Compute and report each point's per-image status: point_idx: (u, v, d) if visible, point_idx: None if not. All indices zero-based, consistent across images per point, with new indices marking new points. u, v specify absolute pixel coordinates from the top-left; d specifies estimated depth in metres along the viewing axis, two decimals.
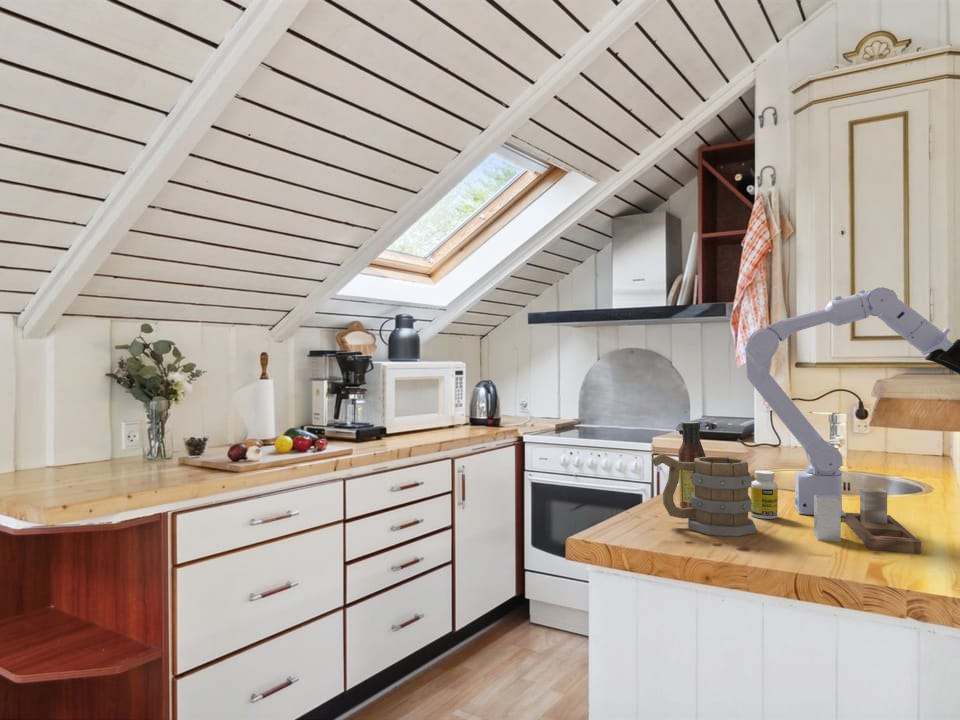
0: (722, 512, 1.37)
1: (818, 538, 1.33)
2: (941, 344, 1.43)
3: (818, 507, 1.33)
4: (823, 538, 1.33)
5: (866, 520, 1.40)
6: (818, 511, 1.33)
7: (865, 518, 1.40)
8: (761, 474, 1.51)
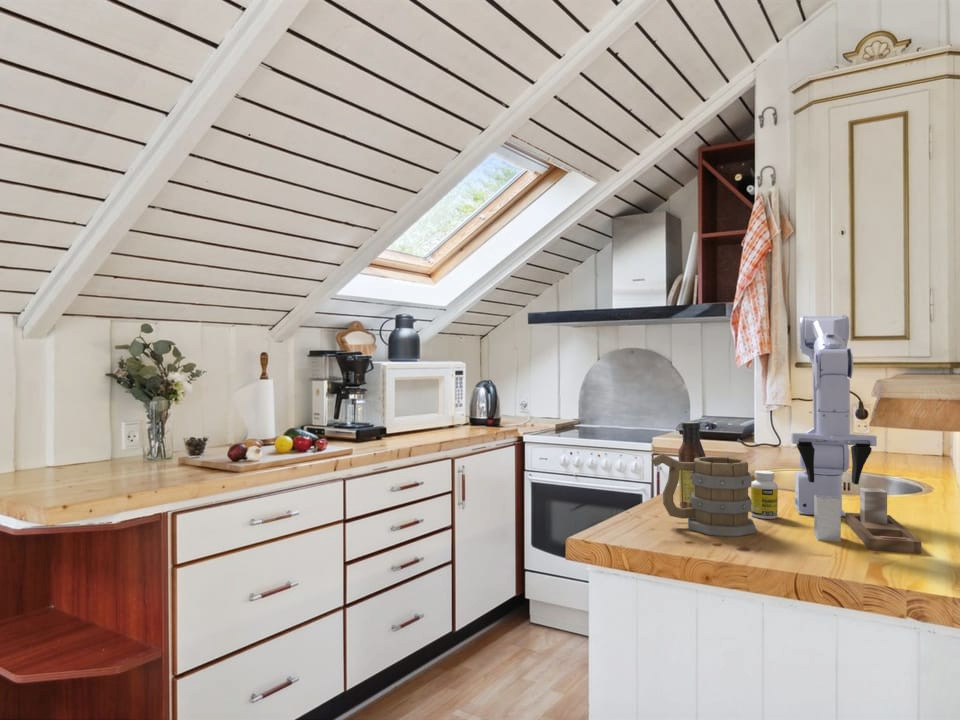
0: (722, 512, 1.37)
1: (818, 538, 1.33)
2: (791, 434, 1.36)
3: (818, 507, 1.33)
4: (823, 538, 1.33)
5: (866, 520, 1.40)
6: (818, 511, 1.33)
7: (865, 518, 1.40)
8: (761, 474, 1.51)
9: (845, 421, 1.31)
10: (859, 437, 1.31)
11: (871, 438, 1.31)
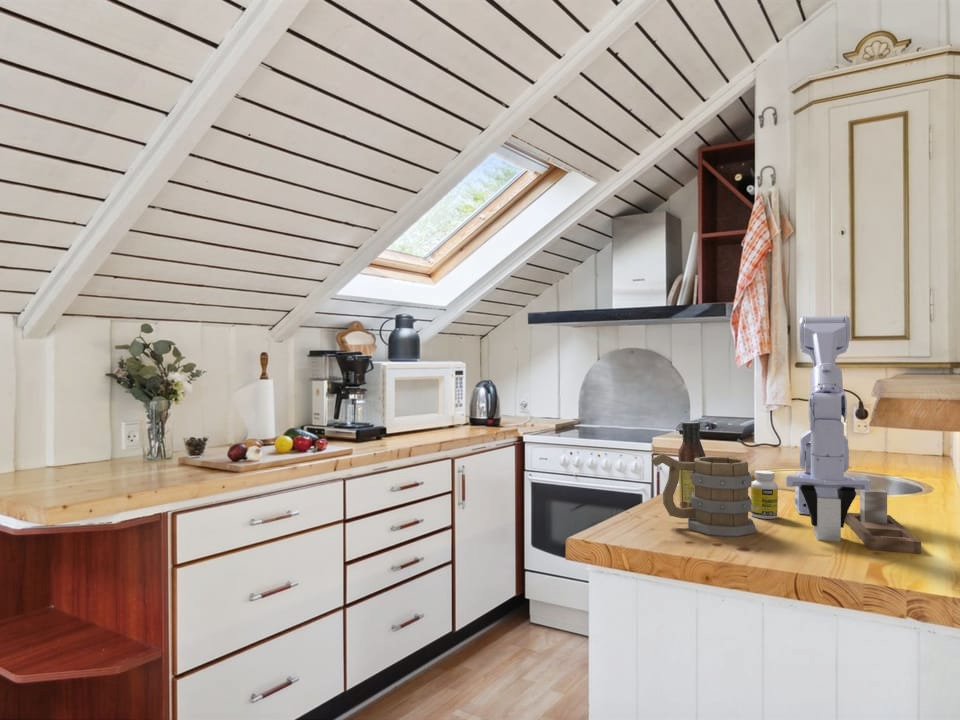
0: (722, 512, 1.37)
1: (818, 538, 1.33)
2: None
3: (818, 507, 1.33)
4: (823, 538, 1.33)
5: (866, 520, 1.40)
6: (818, 511, 1.33)
7: (865, 518, 1.40)
8: (761, 474, 1.51)
9: (839, 466, 1.32)
10: (853, 481, 1.32)
11: (865, 482, 1.32)
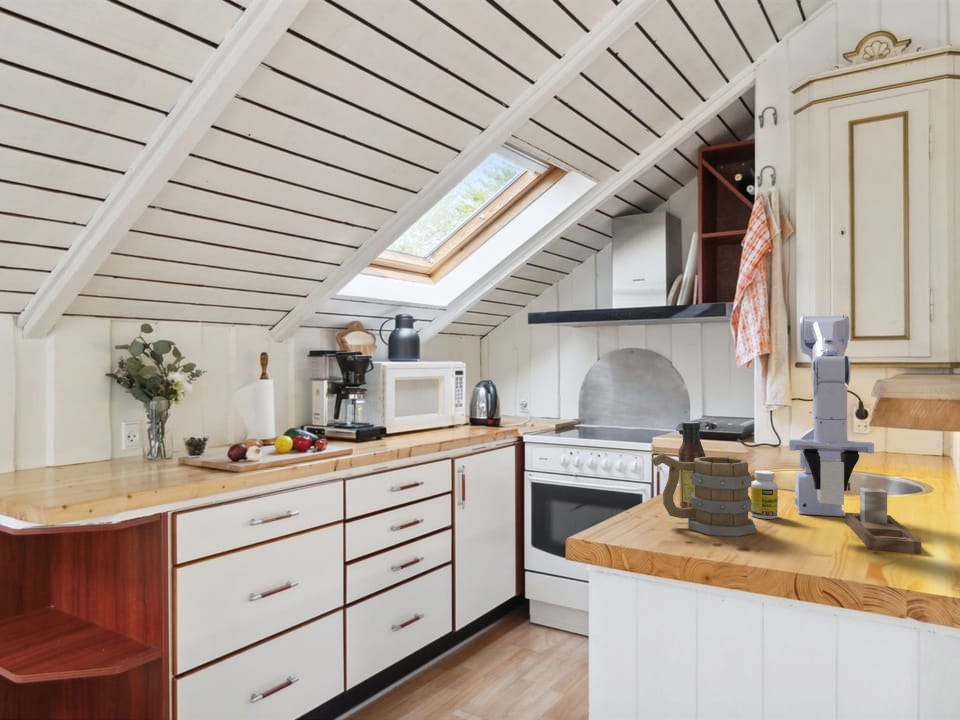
0: (722, 512, 1.37)
1: (821, 501, 1.33)
2: (789, 441, 1.37)
3: (821, 470, 1.33)
4: (826, 501, 1.33)
5: (866, 520, 1.40)
6: (821, 474, 1.33)
7: (865, 518, 1.40)
8: (761, 474, 1.51)
9: (842, 428, 1.32)
10: (856, 444, 1.31)
11: (868, 445, 1.31)
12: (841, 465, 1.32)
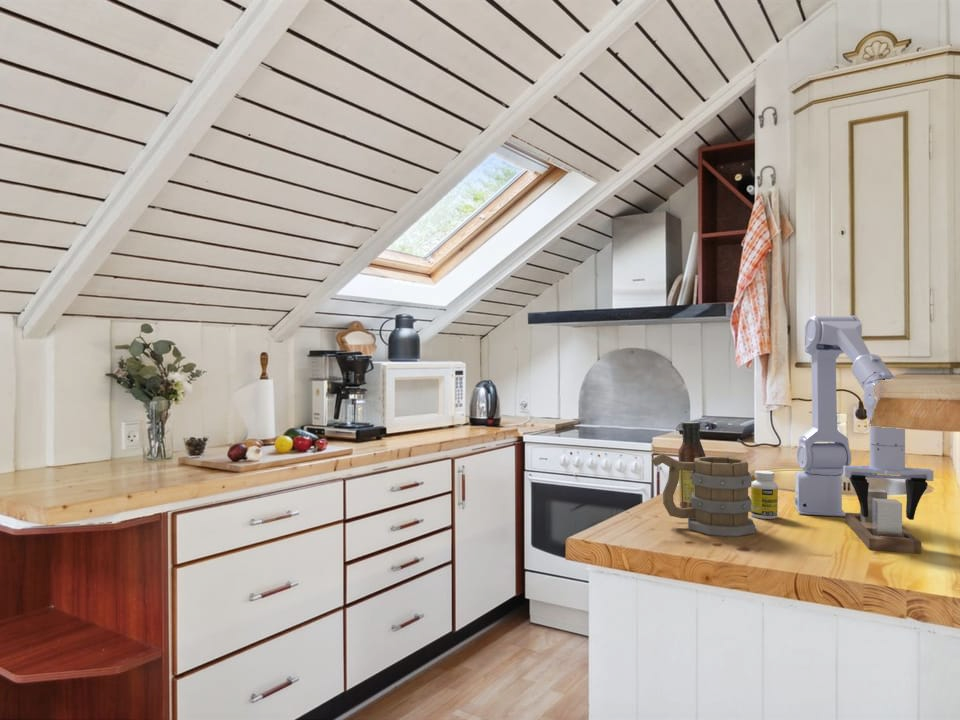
0: (722, 512, 1.37)
1: None
2: (843, 467, 1.33)
3: (878, 512, 1.29)
4: None
5: (866, 520, 1.40)
6: (878, 516, 1.29)
7: (865, 518, 1.40)
8: (761, 474, 1.51)
9: (900, 455, 1.28)
10: (915, 472, 1.28)
11: (928, 473, 1.28)
12: (899, 507, 1.28)
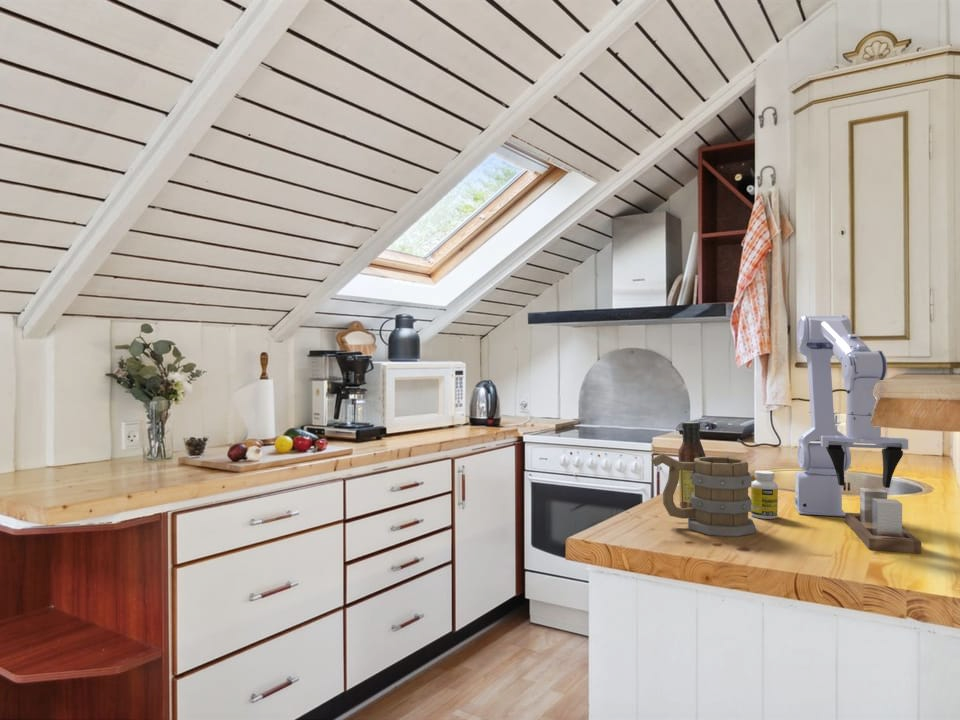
0: (722, 512, 1.37)
1: None
2: (821, 437, 1.36)
3: (878, 512, 1.29)
4: None
5: (866, 520, 1.40)
6: (878, 516, 1.29)
7: (865, 518, 1.40)
8: (761, 474, 1.51)
9: None
10: (890, 440, 1.30)
11: (903, 441, 1.30)
12: (899, 507, 1.28)
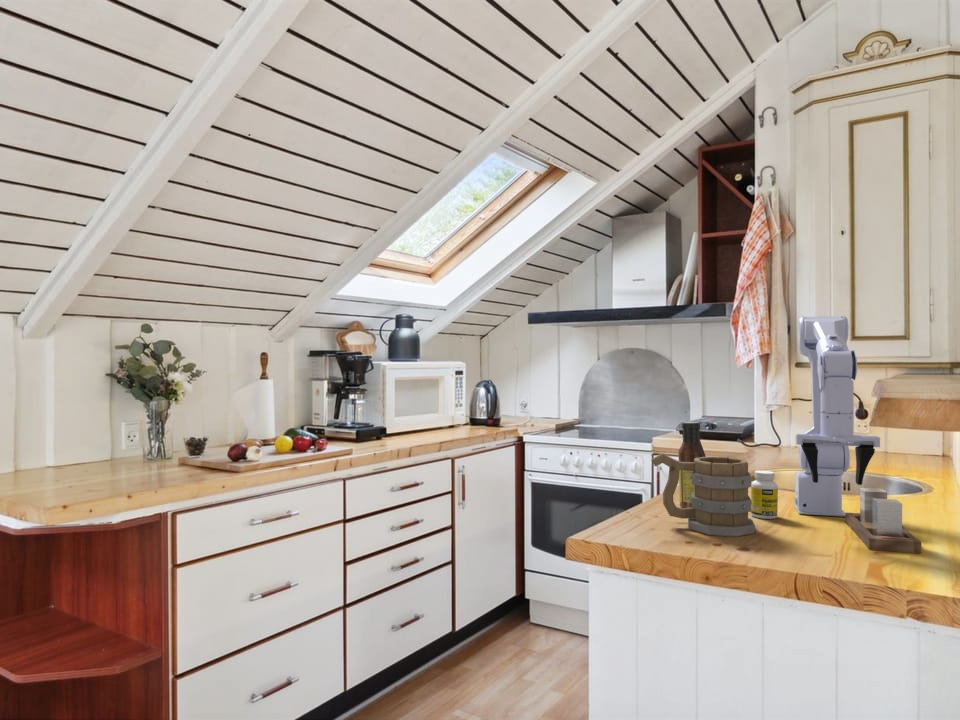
0: (722, 512, 1.37)
1: None
2: None
3: (878, 512, 1.29)
4: None
5: (866, 520, 1.40)
6: (878, 516, 1.29)
7: (865, 518, 1.40)
8: (761, 474, 1.51)
9: (848, 423, 1.33)
10: (862, 438, 1.33)
11: (874, 439, 1.33)
12: (899, 507, 1.28)
